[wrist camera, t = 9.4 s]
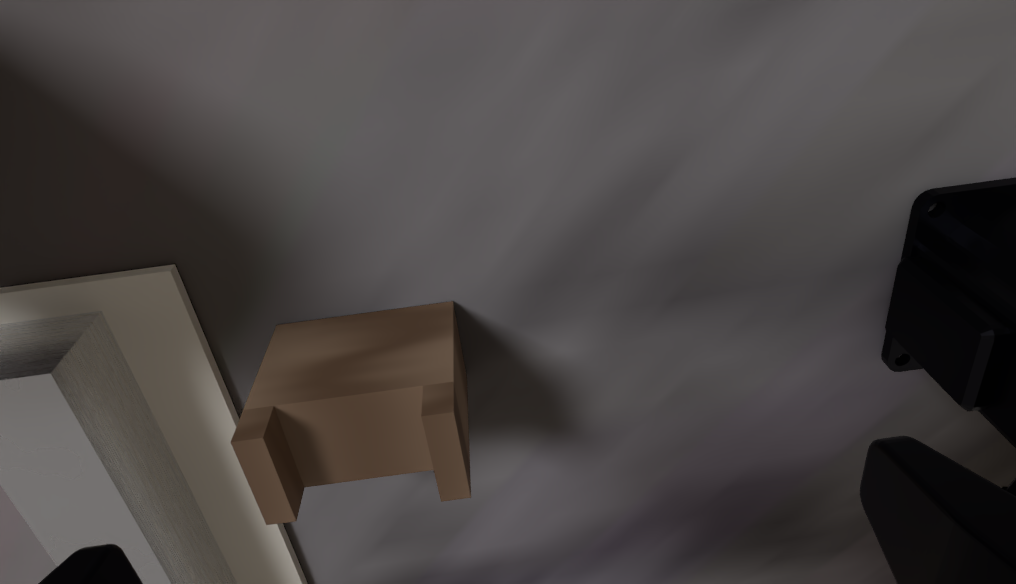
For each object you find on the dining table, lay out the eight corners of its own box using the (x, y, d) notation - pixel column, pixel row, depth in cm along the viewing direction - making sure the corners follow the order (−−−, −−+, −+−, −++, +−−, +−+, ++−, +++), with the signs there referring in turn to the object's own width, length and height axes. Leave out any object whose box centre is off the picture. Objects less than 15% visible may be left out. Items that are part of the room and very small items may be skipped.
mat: (175, 264, 20) (169, 270, 20) (359, 709, 32) (359, 717, 32) (-99, 300, 20) (-109, 308, 20) (190, 732, 32) (188, 741, 32)
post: (452, 301, 21) (453, 411, 17) (466, 377, 23) (470, 497, 18) (276, 325, 21) (230, 442, 17) (302, 399, 23) (266, 524, 18)
